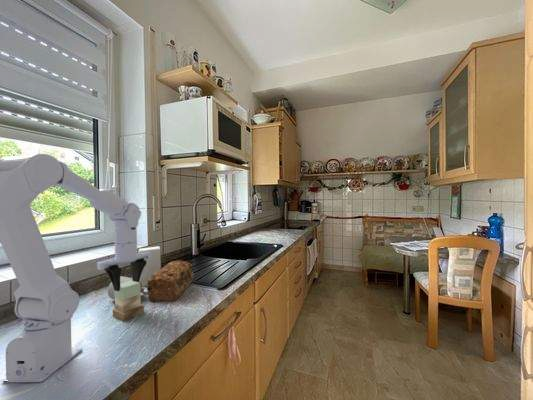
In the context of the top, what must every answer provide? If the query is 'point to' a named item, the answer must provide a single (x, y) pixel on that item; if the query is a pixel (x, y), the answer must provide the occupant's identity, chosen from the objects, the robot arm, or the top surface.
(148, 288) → the bread
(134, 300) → the beech block
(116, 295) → the sage block
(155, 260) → the skincare box
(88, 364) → the top surface
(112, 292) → the ceramic mug
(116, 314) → the walnut slab
